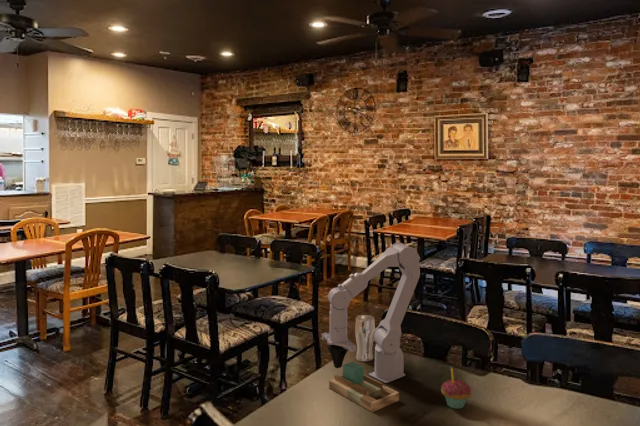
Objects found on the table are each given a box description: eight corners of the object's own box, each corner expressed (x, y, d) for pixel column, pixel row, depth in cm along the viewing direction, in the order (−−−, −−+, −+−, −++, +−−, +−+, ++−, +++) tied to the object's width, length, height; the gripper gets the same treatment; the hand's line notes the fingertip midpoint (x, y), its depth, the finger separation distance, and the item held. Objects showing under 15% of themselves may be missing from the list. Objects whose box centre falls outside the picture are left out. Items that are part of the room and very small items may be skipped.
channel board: (355, 378, 165) (355, 366, 165) (398, 400, 151) (399, 387, 150) (329, 388, 159) (329, 376, 158) (372, 412, 144) (372, 398, 143)
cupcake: (454, 414, 143) (455, 373, 141) (434, 401, 150) (435, 362, 149) (477, 407, 147) (478, 367, 145) (456, 395, 154) (457, 357, 153)
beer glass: (373, 363, 178) (374, 321, 176) (353, 361, 179) (354, 320, 178) (375, 355, 185) (375, 315, 183) (356, 354, 186) (356, 314, 184)
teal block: (352, 376, 161) (352, 361, 160) (363, 382, 157) (363, 366, 157) (342, 380, 159) (343, 364, 158) (353, 385, 155) (354, 370, 154)
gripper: (314, 322, 165) (314, 363, 166) (344, 334, 154) (343, 378, 155) (330, 318, 169) (330, 357, 171) (361, 330, 158) (360, 371, 159)
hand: (338, 367), depth 163 cm, fingers closed
